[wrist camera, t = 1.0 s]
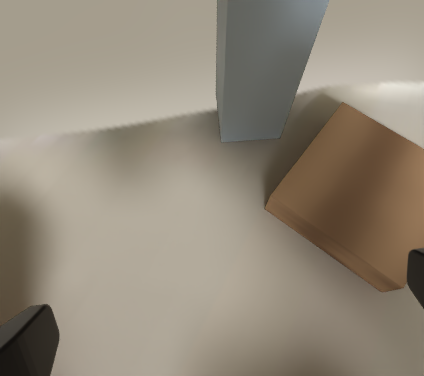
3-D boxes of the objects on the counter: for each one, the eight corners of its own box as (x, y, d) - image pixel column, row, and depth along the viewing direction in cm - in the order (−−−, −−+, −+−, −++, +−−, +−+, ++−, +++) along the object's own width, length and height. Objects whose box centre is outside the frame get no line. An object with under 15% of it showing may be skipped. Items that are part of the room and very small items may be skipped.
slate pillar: (279, 138, 25) (332, -9, 14) (221, 142, 25) (227, -3, 14) (271, 90, 27) (311, -74, 16) (215, 94, 27) (218, -69, 16)
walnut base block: (436, 191, 24) (465, 173, 21) (378, 292, 21) (403, 288, 19) (328, 125, 26) (342, 102, 23) (263, 210, 23) (270, 195, 21)
